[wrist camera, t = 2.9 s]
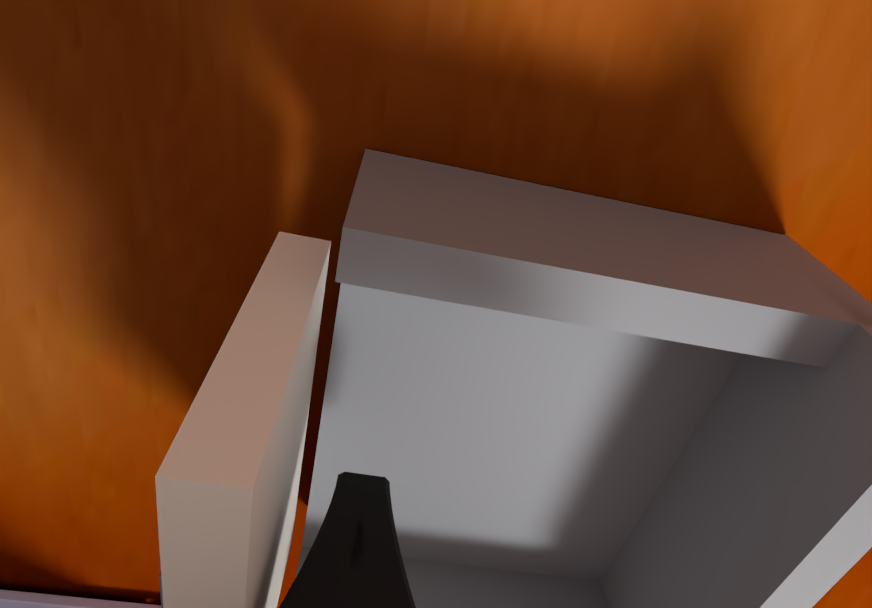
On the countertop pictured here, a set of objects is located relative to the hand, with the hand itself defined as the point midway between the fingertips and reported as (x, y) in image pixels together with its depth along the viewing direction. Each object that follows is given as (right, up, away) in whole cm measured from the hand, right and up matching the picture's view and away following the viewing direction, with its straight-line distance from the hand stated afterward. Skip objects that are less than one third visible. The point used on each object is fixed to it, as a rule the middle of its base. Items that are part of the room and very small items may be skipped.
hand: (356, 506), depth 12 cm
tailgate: (-1, +1, +2) cm, 3 cm away
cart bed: (+4, +2, +4) cm, 6 cm away
